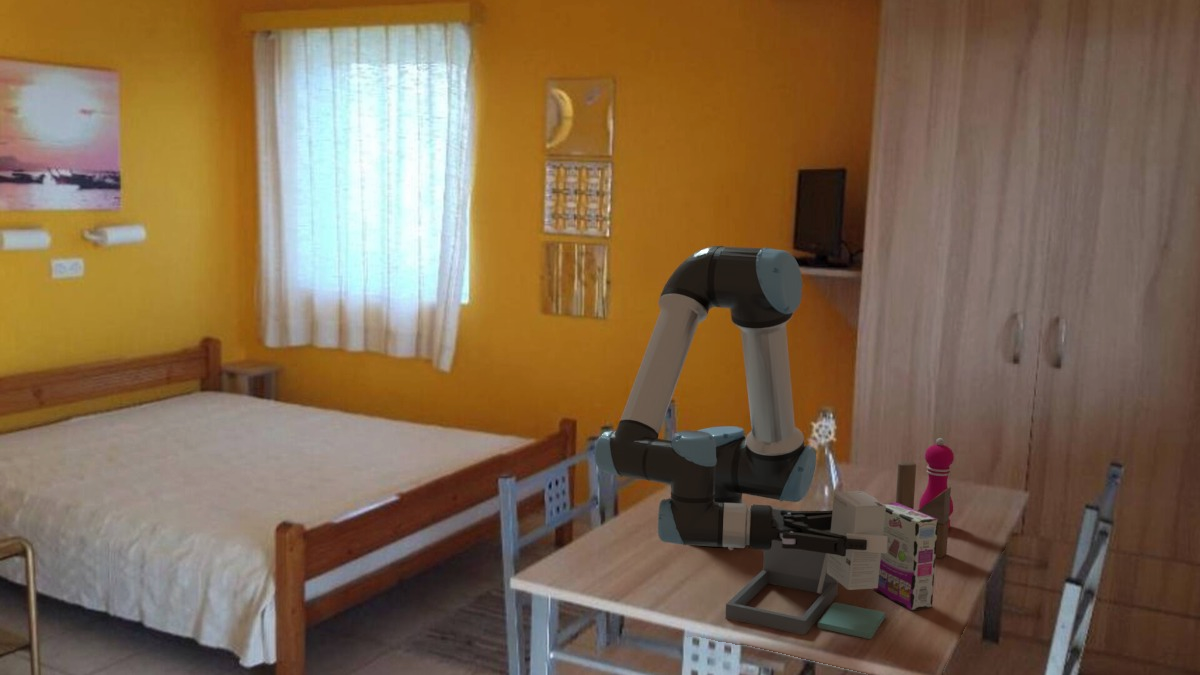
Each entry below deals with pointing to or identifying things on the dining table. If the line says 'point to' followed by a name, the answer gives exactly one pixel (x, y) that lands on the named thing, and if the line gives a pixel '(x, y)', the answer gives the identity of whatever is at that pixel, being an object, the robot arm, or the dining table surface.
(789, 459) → the robot arm
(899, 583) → the candy bar box
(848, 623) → the pad
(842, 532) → the skincare box
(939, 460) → the pepper mill
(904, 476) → the wooden peg stand
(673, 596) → the dining table surface
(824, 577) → the case
